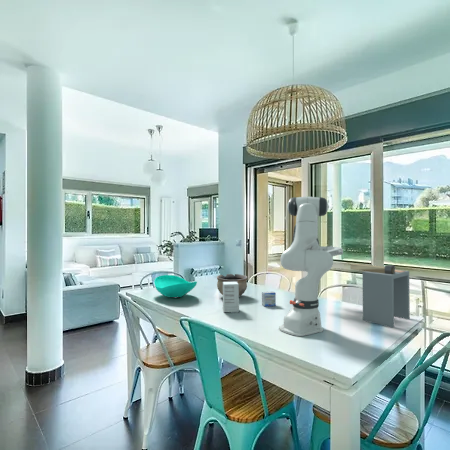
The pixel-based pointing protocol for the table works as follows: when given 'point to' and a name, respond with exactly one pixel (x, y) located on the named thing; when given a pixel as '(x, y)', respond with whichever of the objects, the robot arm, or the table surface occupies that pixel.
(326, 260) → the robot arm
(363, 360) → the table surface
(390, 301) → the shelf stand
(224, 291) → the supplement box
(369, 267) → the beech handle
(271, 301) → the medicine box
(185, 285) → the table top decor
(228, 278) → the ceramic bowl
